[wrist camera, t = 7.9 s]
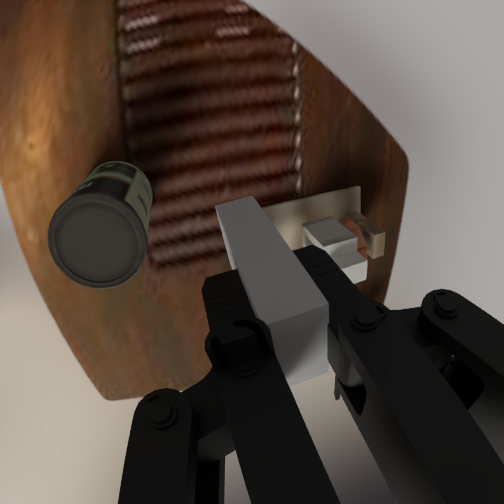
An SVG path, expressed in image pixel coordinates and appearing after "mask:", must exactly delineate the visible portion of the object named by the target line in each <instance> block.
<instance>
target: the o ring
mask: <svg viewBox="0 0 504 504" xmlns="http://www.w3.org/2000/svg"><path fill="white" fill-rule="evenodd" d="M339 222H340V223H341V224H342V225H343V226H345V227H346V228H347V229H348V230H349V231H351V232H352V233H353V234H354V235H355V236H357V251H358V252H359V253H360V254H361V255H362V256H363V257H364V258H365V259H366V260H367V248H366V247H367V245H366V242H365V240H364V237H363V235H362V232H361V229H359V226H358V225H357V224H355V223H354V222H353V221H351V220H350V219H349V218H344V217H343V218H341V219H340V220H339Z"/></svg>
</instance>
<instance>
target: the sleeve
mask: <svg viewBox="0 0 504 504" xmlns="http://www.w3.org/2000/svg"><path fill="white" fill-rule="evenodd" d="M301 228H302V240H303V247H306V246H309V245H312V244H313V245H315V246H317V247H319V248H321V249H323V250H325V251H326V252H327V253H328V254H329V255H330V256H331V258H332V259H333V260H334V262H336V263H337V265H338V266H339V267H340V269H341V270H343V272H344V273H345V274H346V275H347V276H348V278H349V279H350V280H351V281H352V282H353V284H355V283H358V282H360V281H363V280H366V274H367V260H366V259H365V258H364V257H363V256H362V255H361V254H360V253H359V252H358V251H357V236H355V235H354V234H353V233H352V232H351V231H349V230H348V229H347V228H346V227H345V226H343V225H342V224H341V223H340V222H339V221H337V220H336V219H335V218H334V217H332V216H330V217H326V218H322V219H318V220H314V221H310V222H306V223H303V224H301Z"/></svg>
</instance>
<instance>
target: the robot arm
mask: <svg viewBox="0 0 504 504" xmlns="http://www.w3.org/2000/svg"><path fill="white" fill-rule="evenodd" d="M215 208H216V211H217V215H218V219H219V223H220V227H221V230H222V234H223V238H224V242H225V245H226V249H227V253H228V257H229V260H230V264H231V266H232V269H233V270H230V271H227V272H224V273H220V274H217V275H214V276H210V277H207V278H206V279H205V282H204V285H203V287H202V294H203V299H204V303H205V309H206V313H207V319H208V324H209V328H210V332H209V333H208V335H207V337H206V339H205V351H206V353H207V355H208V357H209V359H210V361H211V363H212V365H213V366H212V368H211V370H210V372H209V373H208V374H207V375H206V376H205V377H204V378H203V379H202V380H201V381H199V382H198V383H197V384H195V385H193V386H191V387H190V388H188V389H186V390H184V391H183V392H179V391H178V390H175V389H168V388H164V389H159V390H155V391H153V392H151V393H149V394H147V395H146V396H145V397H144V398H143V399H142V400H141V401H140V402H139V403H138V405H137V407H136V410H135V412H134V416H133V420H132V425H131V430H130V436H129V441H128V446H127V451H126V456H125V462H124V468H123V474H122V480H121V487H120V493H119V500H118V504H224V485H225V481H224V480H225V456H226V455H228V454H230V453H231V452H233V451H234V450H236V453H237V457H238V460H239V464H240V467H241V471H242V474H243V478H244V481H245V484H246V488H247V491H248V494H249V497H250V500H251V504H341V503H340V501H339V499H338V497H337V495H336V492H335V490H334V488H333V486H332V483H331V481H330V479H329V477H328V474H327V472H326V470H325V468H324V466H323V463H322V461H321V459H320V456H319V454H318V452H317V450H316V447H315V445H314V443H313V441H312V438H311V436H310V434H309V431H308V429H307V427H306V425H305V422H304V420H303V418H302V415H301V413H300V411H299V408H298V406H297V404H296V401H295V399H294V397H293V394H292V392H291V390H290V387H289V386H292V385H294V384H297V383H300V382H303V381H306V380H308V379H311V378H314V377H316V376H319V375H321V374H324V373H326V372H328V368H329V363H330V365H331V367H332V368H333V370H334V372H335V373H336V376H335V390H334V395H335V399H336V400H338V399H339V398H340V394H341V396H342V398H343V400H344V402H345V404H346V406H347V407H348V409H349V411H350V413H351V415H352V417H353V419H354V421H355V423H356V424H357V426H358V428H359V430H360V432H361V434H362V436H363V438H364V440H365V442H366V443H367V445H368V447H369V449H370V451H371V453H372V455H373V457H374V459H375V461H376V463H377V464H378V466H379V468H380V470H381V472H382V474H383V476H384V478H385V480H386V482H387V484H388V486H389V488H390V489H391V491H392V493H393V495H394V497H395V499H396V501H397V503H398V504H504V324H502V323H501V322H499V321H498V320H497V319H495V318H494V317H492V316H491V315H489V314H488V313H487V312H485V311H484V310H482V309H481V308H479V307H477V306H476V305H475V304H473V303H472V302H470V301H469V300H467V299H466V298H464V297H463V296H461V295H460V294H458V293H455V292H453V291H451V290H445V289H438V290H433V291H431V292H430V293H428V294H426V296H425V297H424V299H423V301H422V304H421V307H415V308H409V309H402V310H389V309H388V308H387V307H386V306H385V305H383V304H382V303H379V302H376V301H374V300H367V299H366V298H365V297H364V296H363V294H362V293H361V292H360V291H359V290H358V288H357V287H356V286H355V285H354V284H353V282H352V281H351V280H350V279H349V278H348V276H347V275H346V274H345V273H344V272H343V270H341V269H340V267H339V266H338V265H337V263H336V262H334V260H333V259H332V258H331V256H330V255H329V254H328V253H327V252H326V251H325V250H323V249H321V248H319V247H317V246H315V245H313V244H312V245H309V246H306V247H303V248H299V249H296V250H293V251H292V250H291V249H290V247H289V246H288V244H287V243H286V241H285V240H284V239H283V237H282V236H281V234H280V233H279V232H278V230H277V229H276V228H275V226H274V225H273V223H272V222H271V221H270V219H269V218H268V216H267V215H266V214H265V212H264V211H263V210H262V208H261V207H260V206H259V204H258V203H257V201H256V200H255V199H254V197H253V196H249V197H245V198H242V199H238V200H234V201H231V202H227V203H223V204H220V205H216V206H215ZM452 355H453V356H454V357H453V356H452Z"/></svg>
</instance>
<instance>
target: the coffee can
mask: <svg viewBox="0 0 504 504" xmlns="http://www.w3.org/2000/svg"><path fill="white" fill-rule="evenodd" d="M152 199H153V196H152V189H151V185H150V183H149V181H148V179H147V177H146V176H145V174H144V173H143V172H142V171H141V170H140V169H139V168H137V167H135V166H134V165H132V164H130V163H127V162H122V161H111V162H107V163H104V164H102V165H100V166H98V167H96V168H95V169H94V170H93V171H92V172H91V173H90V174H89V175H88V177H87V178H86V179H85V180H84V181H83V182H82V183H81V185H80V186H79V187H78V188H77V189H76V190H75V191H74V192H73V193H72V194H71V196H70V197H69V198H68V199H67V200H66V201H64V202H63V203H62V204H61V205H60V206H59V208H58V209H57V210H56V211H55V213H54V215H53V216H52V219H51V221H50V224H49V229H48V245H49V250H50V253H51V256H52V258H53V260H54V262H55V263H56V265H57V266H58V268H59V269H60V270H61V271H62V272H63V273H64V274H65V275H66V276H67V277H68V278H70V279H71V280H72V281H74V282H76V283H78V284H80V285H82V286H85V287H88V288H93V289H110V288H115V287H118V286H121V285H123V284H125V283H126V282H128V281H129V280H131V279H132V278H133V277H134V276H135V275H136V274H137V273H138V272H139V270H140V269H141V267H142V265H143V263H144V261H145V258H146V254H147V233H148V225H149V218H150V211H151V205H152Z"/></svg>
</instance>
